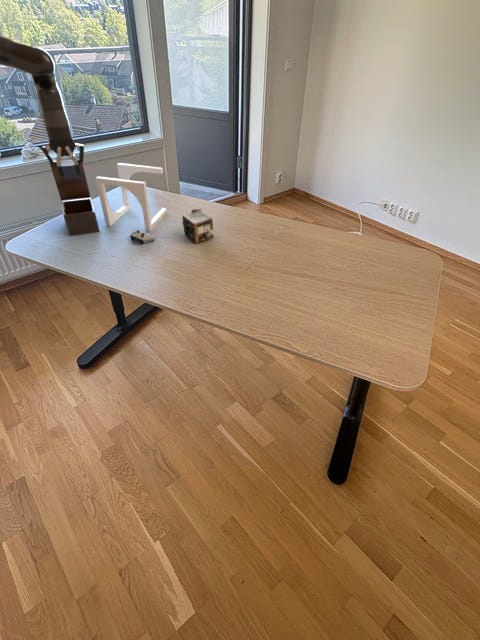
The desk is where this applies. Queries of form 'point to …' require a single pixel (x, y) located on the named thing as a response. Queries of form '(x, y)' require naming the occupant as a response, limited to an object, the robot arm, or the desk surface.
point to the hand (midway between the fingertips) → (70, 175)
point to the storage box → (80, 216)
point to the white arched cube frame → (135, 188)
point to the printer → (197, 225)
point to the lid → (71, 184)
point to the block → (69, 170)
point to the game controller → (141, 236)
